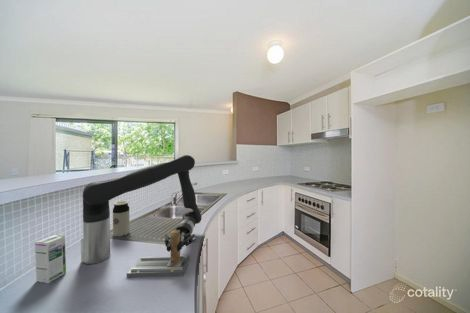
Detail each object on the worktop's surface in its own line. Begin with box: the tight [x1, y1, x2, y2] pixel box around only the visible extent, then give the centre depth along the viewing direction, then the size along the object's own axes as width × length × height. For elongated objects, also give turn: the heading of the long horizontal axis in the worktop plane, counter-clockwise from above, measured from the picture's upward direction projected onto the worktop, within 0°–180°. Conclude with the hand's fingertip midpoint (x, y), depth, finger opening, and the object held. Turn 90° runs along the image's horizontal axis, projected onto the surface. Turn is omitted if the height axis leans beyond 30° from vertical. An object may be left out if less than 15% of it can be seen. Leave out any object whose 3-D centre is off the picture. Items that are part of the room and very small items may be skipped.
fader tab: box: [167, 229, 184, 267], centre depth 71 cm, size 5×6×13 cm
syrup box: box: [34, 234, 67, 284], centre depth 66 cm, size 6×6×14 cm
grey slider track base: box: [126, 255, 191, 278], centre depth 71 cm, size 21×10×2 cm, turn 92°
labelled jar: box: [112, 200, 131, 237], centre depth 102 cm, size 8×8×18 cm
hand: (173, 249), depth 68 cm, fingers closed on fader tab, 3 cm apart
